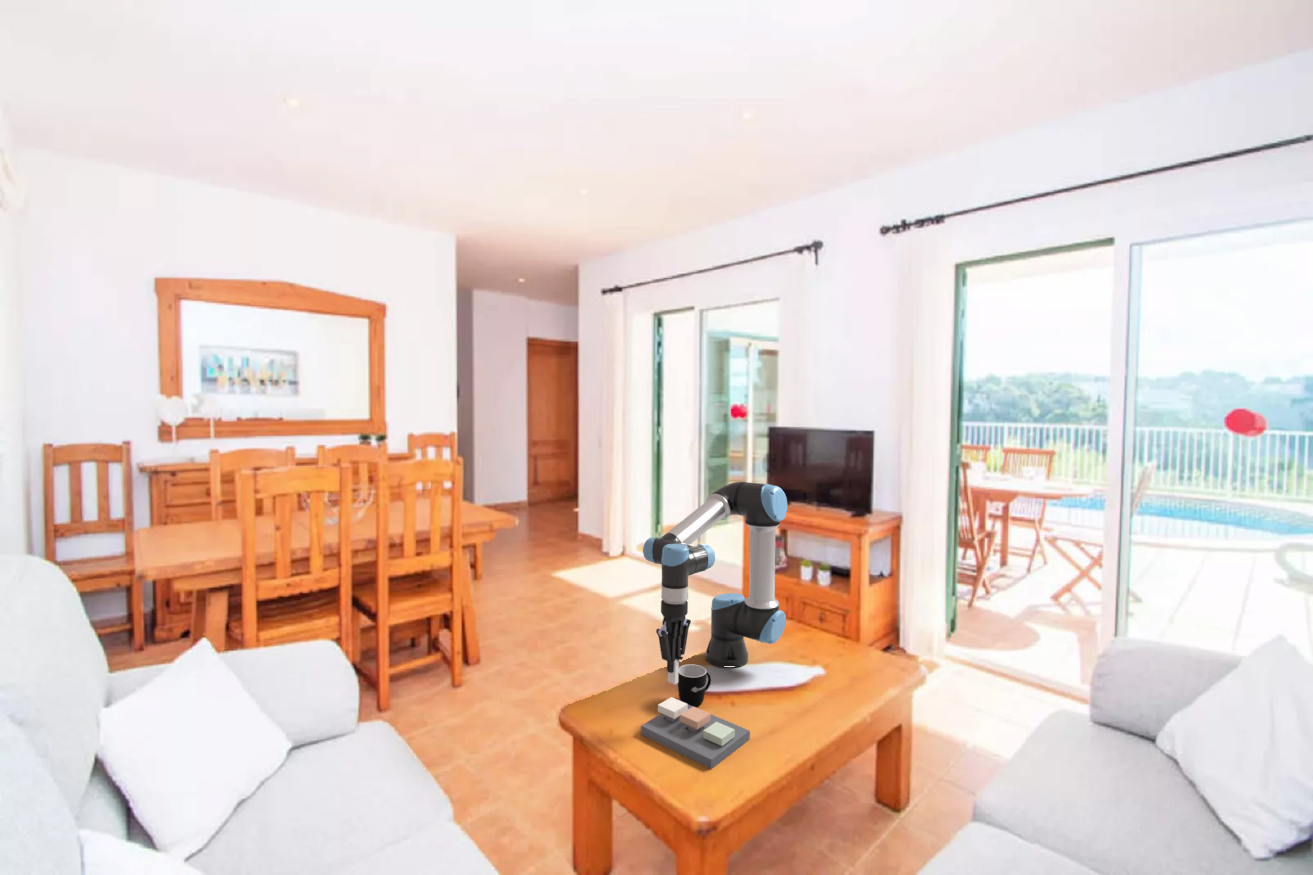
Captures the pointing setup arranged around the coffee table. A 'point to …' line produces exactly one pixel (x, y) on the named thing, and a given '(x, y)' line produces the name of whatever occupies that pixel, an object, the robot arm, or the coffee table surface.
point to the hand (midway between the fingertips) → (672, 681)
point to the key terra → (695, 719)
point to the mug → (692, 684)
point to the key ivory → (672, 709)
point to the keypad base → (694, 739)
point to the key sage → (719, 733)
